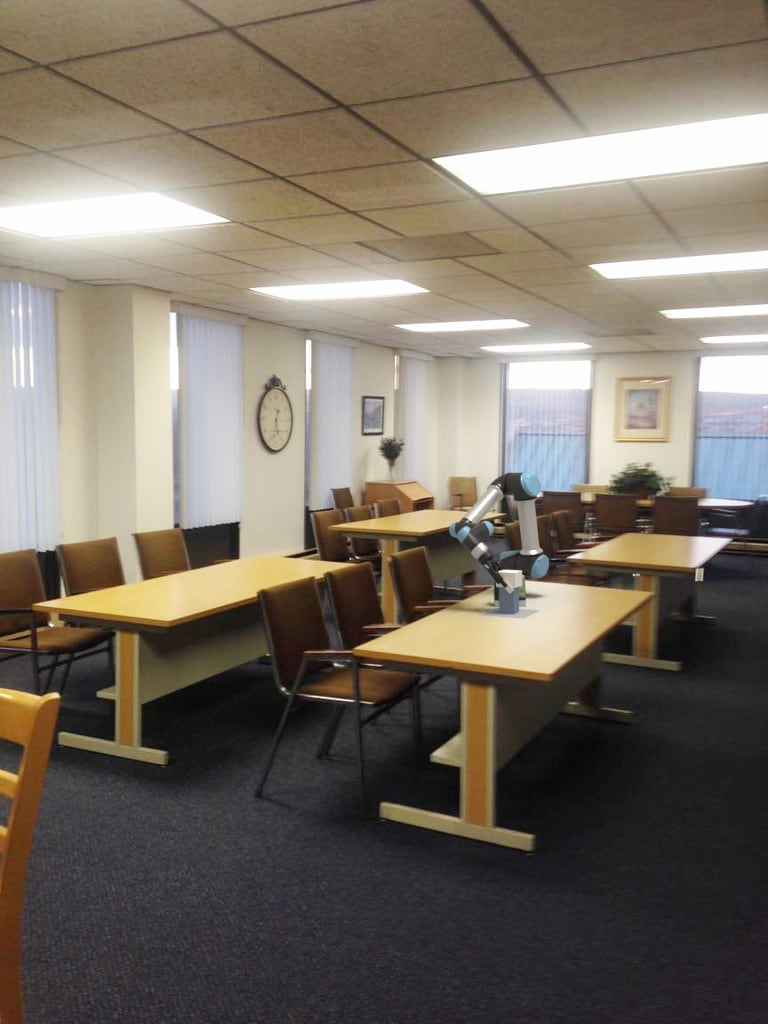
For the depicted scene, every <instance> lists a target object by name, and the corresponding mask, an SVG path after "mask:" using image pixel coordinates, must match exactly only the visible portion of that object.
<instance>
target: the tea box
mask: <svg viewBox="0 0 768 1024" xmlns="http://www.w3.org/2000/svg"><path fill="white" fill-rule="evenodd" d="M521 586H522V587H521V588H520V589H519V608H527V607H526V606H527V604H526V603H527V601H526V599H527V598H526V597H527V590H526V591H525V589H526V576H524V575H522V585H521ZM493 604H494V608H495V607H499V587H496V581H495V580H494V579H493Z"/></svg>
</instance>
